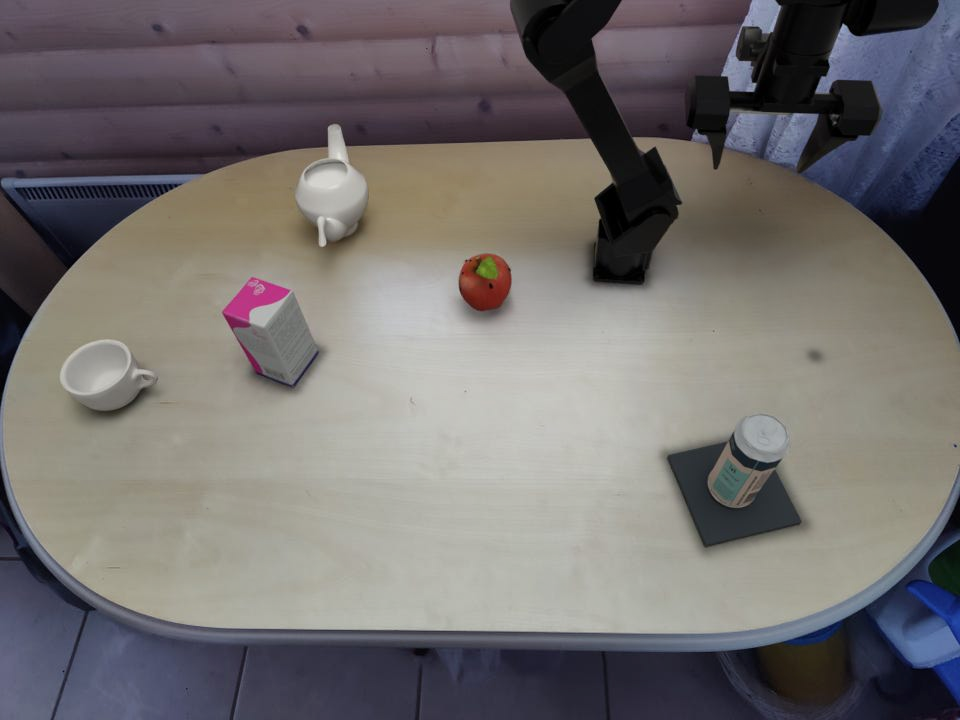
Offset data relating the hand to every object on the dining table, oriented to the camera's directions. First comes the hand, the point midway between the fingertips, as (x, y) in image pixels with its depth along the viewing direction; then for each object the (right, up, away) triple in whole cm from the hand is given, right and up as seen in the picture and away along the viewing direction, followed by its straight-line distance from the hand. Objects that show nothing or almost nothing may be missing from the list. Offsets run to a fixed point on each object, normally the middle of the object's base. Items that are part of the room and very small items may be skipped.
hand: (756, 169), depth 78 cm
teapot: (-51, -3, +17) cm, 54 cm away
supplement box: (-55, -22, +4) cm, 59 cm away
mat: (-6, -35, -8) cm, 36 cm away
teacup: (-73, -26, +3) cm, 78 cm away
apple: (-31, -15, +8) cm, 35 cm away
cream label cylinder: (-6, -35, -8) cm, 36 cm away
